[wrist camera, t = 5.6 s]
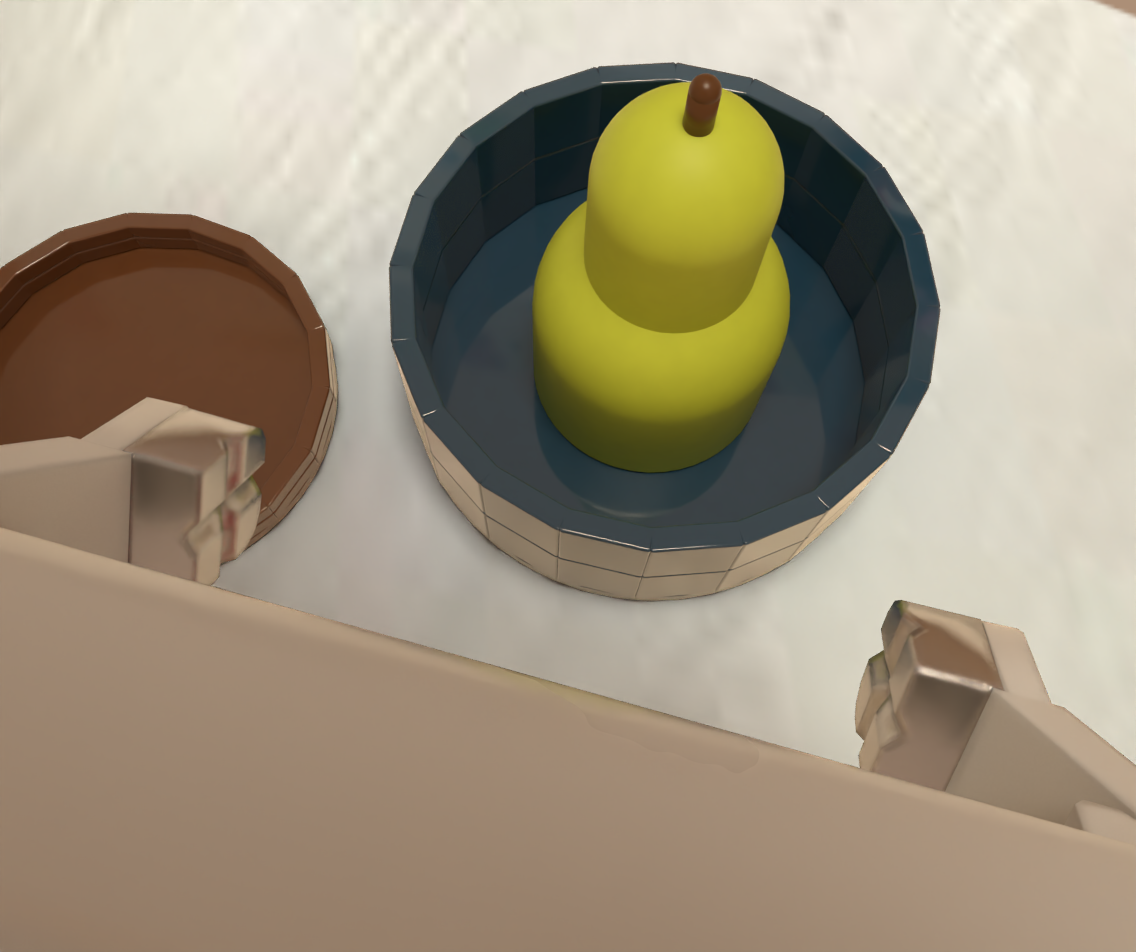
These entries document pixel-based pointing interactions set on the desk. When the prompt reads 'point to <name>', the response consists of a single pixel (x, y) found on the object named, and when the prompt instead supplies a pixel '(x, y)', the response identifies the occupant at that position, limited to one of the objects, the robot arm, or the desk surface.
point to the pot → (783, 413)
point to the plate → (167, 340)
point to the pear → (665, 283)
